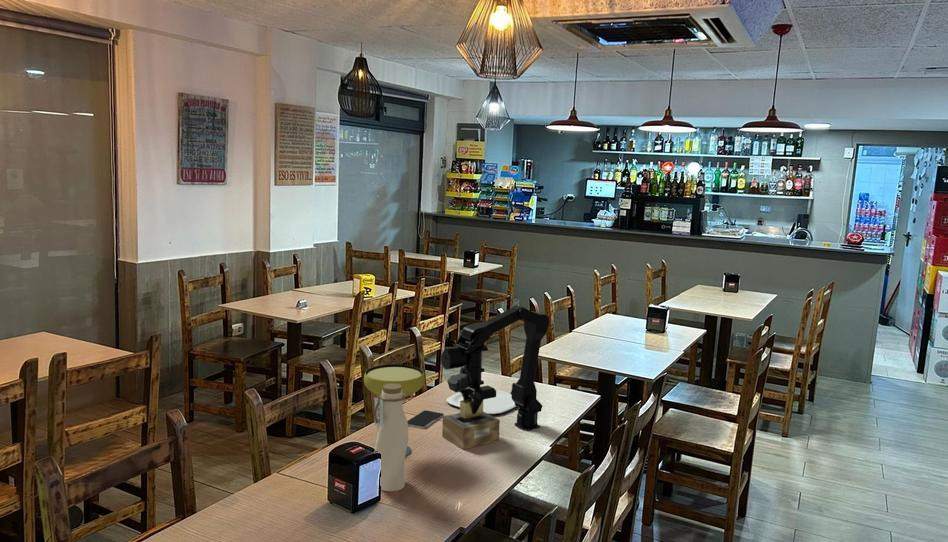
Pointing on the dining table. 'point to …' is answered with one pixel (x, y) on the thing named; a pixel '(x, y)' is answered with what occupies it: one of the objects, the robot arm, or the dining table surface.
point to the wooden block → (469, 409)
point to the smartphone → (424, 419)
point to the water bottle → (391, 436)
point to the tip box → (470, 430)
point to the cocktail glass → (394, 380)
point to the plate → (489, 402)
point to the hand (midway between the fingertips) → (471, 412)
